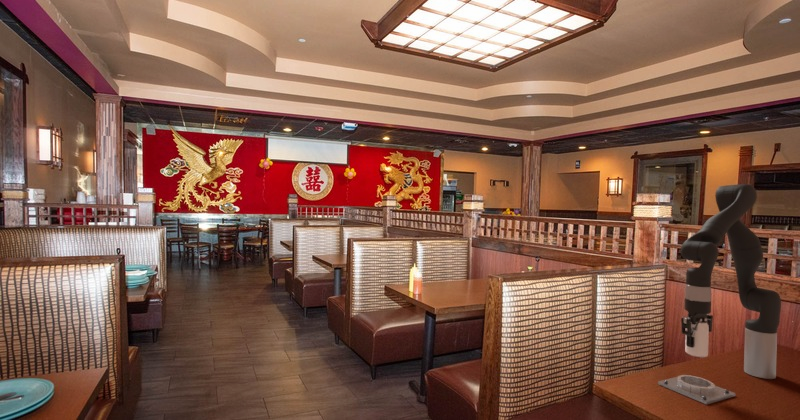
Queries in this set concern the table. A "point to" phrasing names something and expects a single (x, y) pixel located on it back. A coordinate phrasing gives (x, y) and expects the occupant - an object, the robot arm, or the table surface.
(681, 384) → the duct flange
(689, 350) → the can
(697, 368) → the table surface
